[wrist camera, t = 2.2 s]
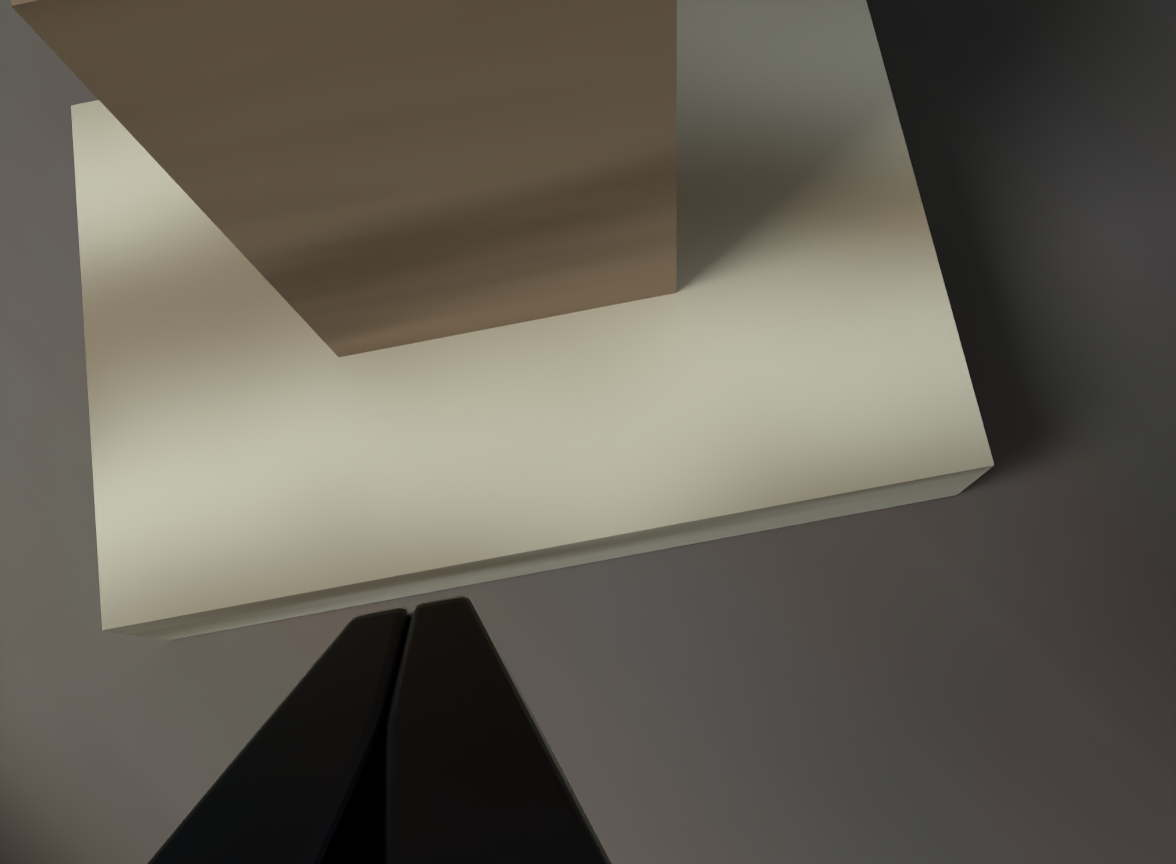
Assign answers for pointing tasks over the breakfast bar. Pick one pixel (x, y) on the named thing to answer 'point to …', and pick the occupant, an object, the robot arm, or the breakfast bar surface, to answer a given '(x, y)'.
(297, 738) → the robot arm
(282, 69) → the walnut block
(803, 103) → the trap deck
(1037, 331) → the breakfast bar surface
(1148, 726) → the breakfast bar surface
